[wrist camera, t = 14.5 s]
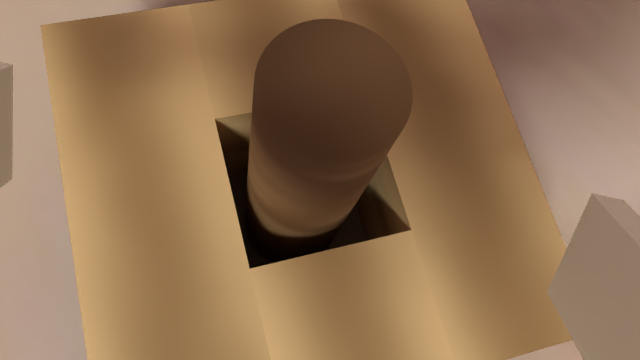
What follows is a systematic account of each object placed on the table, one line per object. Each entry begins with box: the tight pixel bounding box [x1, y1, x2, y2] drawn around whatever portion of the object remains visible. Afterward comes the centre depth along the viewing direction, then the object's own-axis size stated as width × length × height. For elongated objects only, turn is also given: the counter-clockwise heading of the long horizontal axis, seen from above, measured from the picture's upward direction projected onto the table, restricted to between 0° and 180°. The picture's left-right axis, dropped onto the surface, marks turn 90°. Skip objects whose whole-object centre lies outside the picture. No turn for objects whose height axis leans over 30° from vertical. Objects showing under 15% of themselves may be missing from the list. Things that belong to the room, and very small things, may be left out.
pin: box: [245, 19, 413, 263], centre depth 20 cm, size 4×4×12 cm
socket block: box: [41, 0, 573, 360], centre depth 24 cm, size 16×15×8 cm
